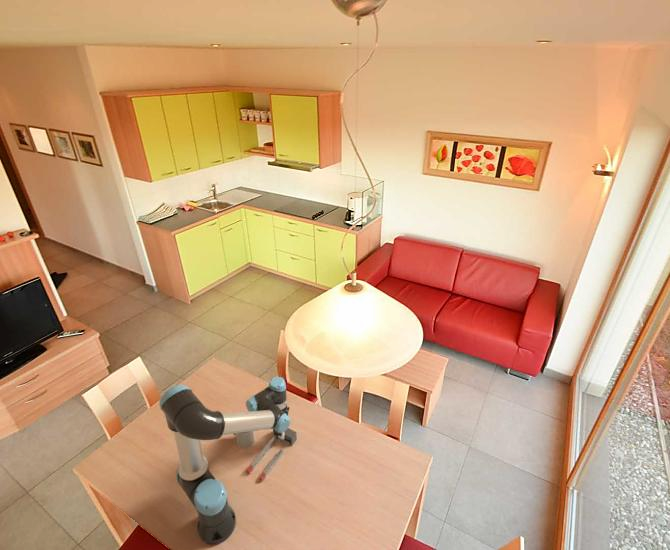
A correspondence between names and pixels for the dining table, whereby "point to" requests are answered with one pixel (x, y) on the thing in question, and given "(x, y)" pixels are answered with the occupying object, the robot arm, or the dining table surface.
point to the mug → (245, 439)
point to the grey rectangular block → (289, 435)
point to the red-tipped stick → (271, 465)
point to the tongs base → (266, 451)
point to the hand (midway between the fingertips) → (281, 437)
